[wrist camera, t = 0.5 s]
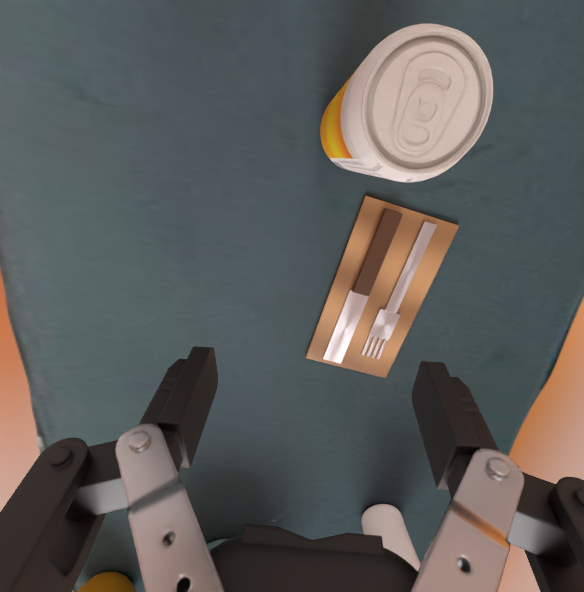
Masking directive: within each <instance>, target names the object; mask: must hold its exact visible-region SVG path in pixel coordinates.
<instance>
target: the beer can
mask: <svg viewBox="0 0 584 592" xmlns="http://www.w3.org/2000/svg"><path fill="white" fill-rule="evenodd" d="M492 99H493V80H492V74H491V69H490V66H489V63H488V60H487V58H486V56H485V54H484V53H483V51H482V50H481V48H480V47H479V46H478V44H477V43H476V42H475V41H474V40H473V39H472V38H470V37H469V36H468V35H466V34H465V33H463V32H461V31H459V30H456V29H453V28H450V27H446V26H442V25H439V24H417V25H412V26H409V27H405V28H403V29H400V30H398V31H396V32H394V33H393V34H391V35H389V36H388V37H386V38H385V39H384V40H383V41H381V42H380V43H379V44H378V45H377V46H376V47H375V48H374V49H373V50H372V51H371V52H370V54H369V55H368V56H367V57H366V58H365V60H364V61H363V62H362V63H361V65H360V66H359V67H358V68H357V70H356V71H355V72H354V73H353V75H352V76H351V77H350V78H349V80H348V81H347V82H346V83H345V85H344V86H343V87H342V88H341V89H340V91H339V92H338V93H337V94H336V96H335V97H334V98H333V99H332V101H331V102H330V103H329V105H328V106H327V108H326V110H325V112H324V115H323V117H322V121H321V128H320V135H321V142H322V145H323V148H324V150H325V152H326V154H327V156H328V157H329V158H330V159H331V161H332V162H333V163H335V164H336V165H337V166H339V167H341V168H343V169H346V170H349V171H354V172H358V173H363V174H367V175H372V176H376V177H381V178H385V179H390V180H394V181H399V182H417V181H423V180H427V179H430V178H432V177H435V176H437V175H439V174H441V173H443V172H445V171H446V170H447V169H449V168H450V167H452V166H453V165H454V164H455V163H457V162H458V161H459V160H460V159H461V158H462V157H463V156H464V155H465V154H466V153H467V152H468V151H469V150H470V148H471V147H472V146H473V145H474V144H475V142H476V141H477V139H478V138H479V136H480V135H481V133H482V131H483V129H484V127H485V125H486V122H487V120H488V117H489V114H490V110H491V105H492Z"/></svg>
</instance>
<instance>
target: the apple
mask: <svg viewBox="0 0 584 592" xmlns="http://www.w3.org/2000/svg"><path fill="white" fill-rule="evenodd" d="M77 592H136V591H135V588H134V586H133V584H132V582H131V581H130V580H129V579H128V578H127V577H126V576H125V575H123V574H121V573H118V572H104V573H100V574H97V575H95V576H94V577H92V578H91V579H90V580H89V581H88V582H86V583H85V584H84V585H83V586H82V587H81V588H80V589H79V590H78V591H77Z"/></svg>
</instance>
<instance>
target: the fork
mask: <svg viewBox="0 0 584 592" xmlns="http://www.w3.org/2000/svg"><path fill="white" fill-rule="evenodd" d="M436 226H437V225H436V224H433V223H430V222H427V221H423V223H422V226H421V228H420V230H419V232H418V235H417V237H416V239H415V241H414V244H413V246H412V248H411V250H410V253H409V255H408V257H407V259H406V262H405V264H404V266H403V268H402V271H401V273H400V275H399V277H398V280H397V282H396V284H395V286H394V289H393V291H392V293H391V295H390V298H389V300H388V302H387V304H386V307H385V309H381V308H379V311H378V313H377V315H376V317H375V320H374V322H373V324H372V327H371V329H370V331H369V333H368V334H369V336H368V338H367V340H366V343H365V345H364V347H363V349H362V352H361V355H364V354H365V351H366V349H367V347H368V345H369V342H370V340H371V338H372V336H374V337H373V340H372V342H371V344H370V346H369V349H368V351H367V353H366V356H368V357H369V355H370V353H371V351H372V348H373V346H374V344H375V342H376V340H377V337H378V338H379V339H378V341H377V343H376V346H375V348H374V350H373V352H372V354H371V357H372V358H374V356H375V354H376V352H377V350H378V348H379V346H380V343H381V341H382V339H384V340H383V343H382V345H381V347H380V349H379V351H378V354H377V356H376V359H379V358H380V356H381V353H382V351H383V349H384V347H385V345H386V343H387V341H388V340H389V339H390V337H391V335H392V332H393V330H394V328H395V326H396V324H397V322H398V320H399V317H400V315H401V314H399V313H397V311H398V309H399V307H400V304H401V302H402V300H403V298H404V296H405V293H406V291H407V289H408V287H409V285H410V283H411V280H412V278H413V276H414V274H415V272H416V270H417V267H418V265H419V263H420V261H421V259H422V257H423V254H424V252H425V250H426V248H427V246H428V244H429V241H430V239H431V237H432V235H433V233H434V231H435V228H436Z"/></svg>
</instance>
